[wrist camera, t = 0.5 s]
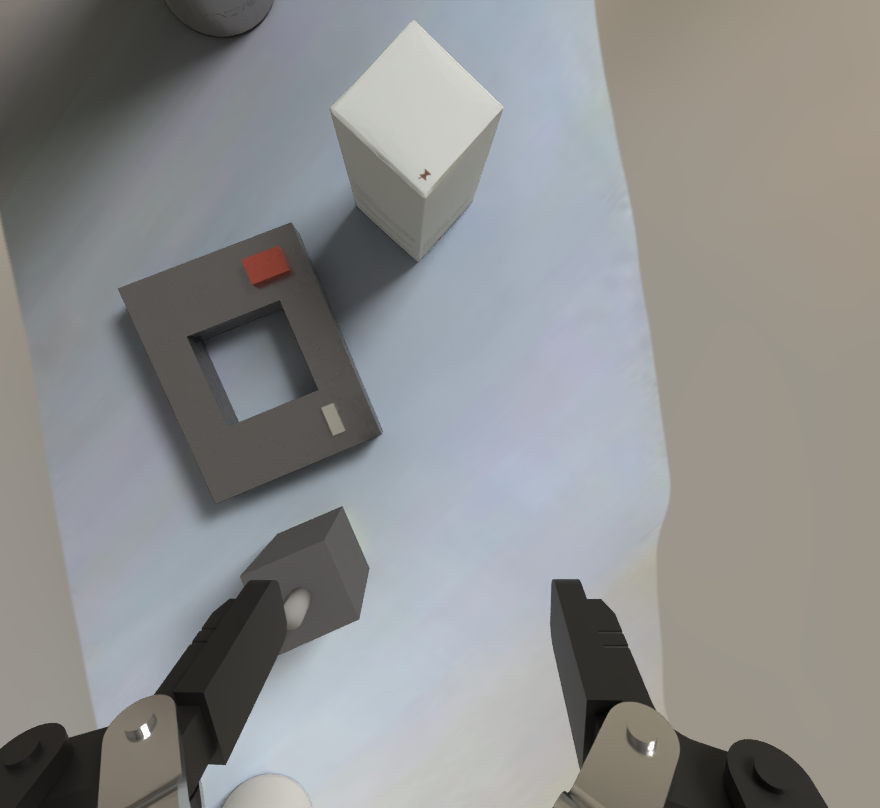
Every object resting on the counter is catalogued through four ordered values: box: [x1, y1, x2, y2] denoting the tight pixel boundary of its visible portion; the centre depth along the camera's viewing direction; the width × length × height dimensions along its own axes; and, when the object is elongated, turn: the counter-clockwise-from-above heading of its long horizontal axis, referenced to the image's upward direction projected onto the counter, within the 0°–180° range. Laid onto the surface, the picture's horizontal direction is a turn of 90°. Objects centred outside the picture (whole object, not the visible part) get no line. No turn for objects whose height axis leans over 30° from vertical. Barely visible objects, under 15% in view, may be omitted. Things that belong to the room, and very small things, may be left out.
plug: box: [240, 506, 369, 655], centre depth 31 cm, size 6×6×13 cm
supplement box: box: [330, 20, 503, 262], centre depth 31 cm, size 7×7×13 cm
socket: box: [118, 223, 383, 504], centre depth 35 cm, size 18×14×3 cm
